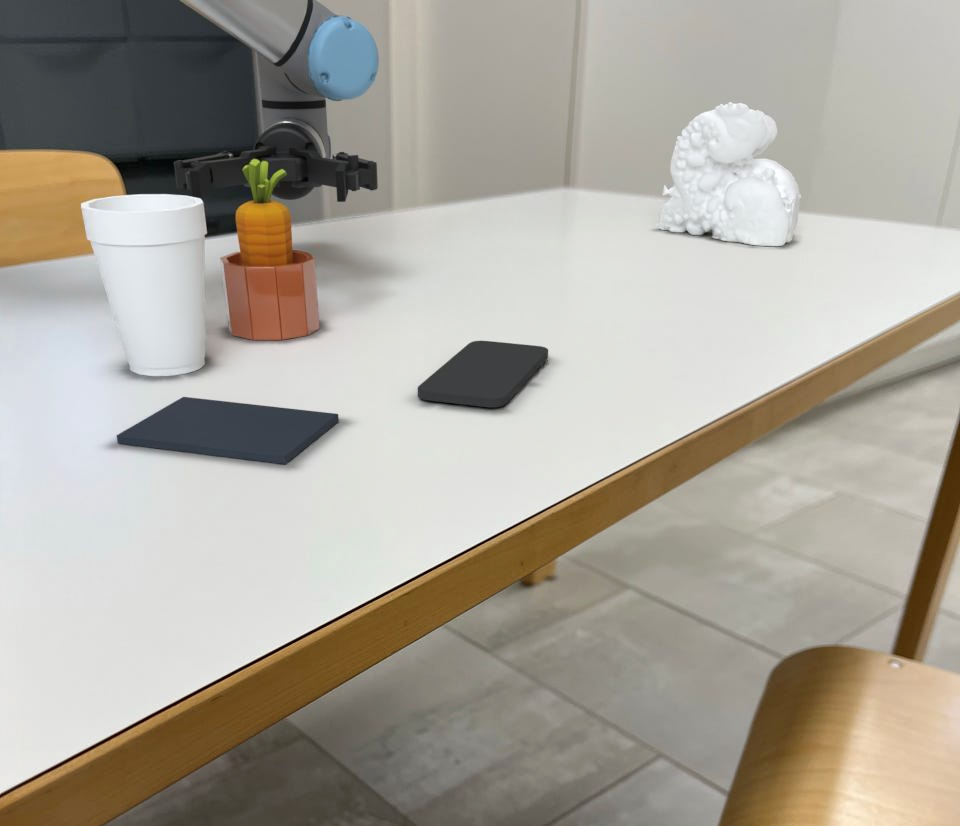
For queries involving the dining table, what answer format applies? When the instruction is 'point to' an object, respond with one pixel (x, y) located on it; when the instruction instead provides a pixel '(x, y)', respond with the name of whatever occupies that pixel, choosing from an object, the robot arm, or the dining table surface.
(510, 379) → the phone
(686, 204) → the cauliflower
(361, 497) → the dining table surface
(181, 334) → the foam cup
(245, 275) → the holder
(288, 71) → the robot arm
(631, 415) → the dining table surface
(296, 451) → the mat
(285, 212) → the carrot
